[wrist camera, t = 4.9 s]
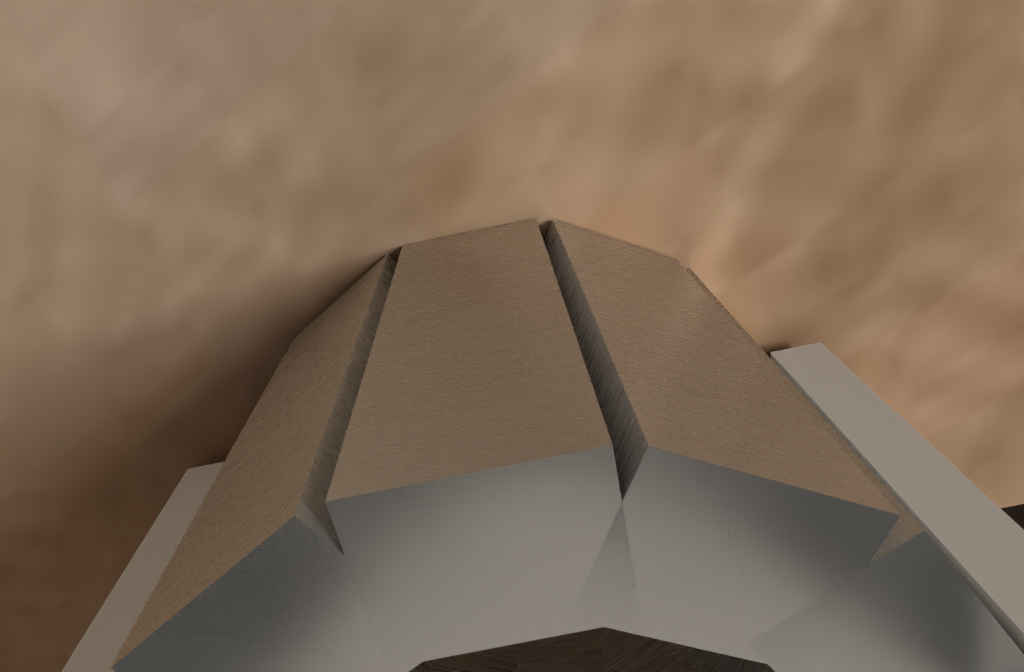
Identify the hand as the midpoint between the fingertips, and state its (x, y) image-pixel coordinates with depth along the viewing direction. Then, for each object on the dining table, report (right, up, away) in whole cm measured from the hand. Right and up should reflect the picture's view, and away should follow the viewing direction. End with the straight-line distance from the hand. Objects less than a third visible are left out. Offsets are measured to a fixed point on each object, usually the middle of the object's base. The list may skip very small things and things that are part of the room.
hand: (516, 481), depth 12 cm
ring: (0, 0, 0) cm, 0 cm away
